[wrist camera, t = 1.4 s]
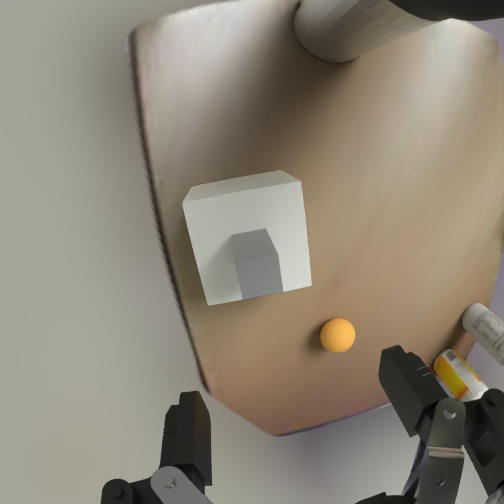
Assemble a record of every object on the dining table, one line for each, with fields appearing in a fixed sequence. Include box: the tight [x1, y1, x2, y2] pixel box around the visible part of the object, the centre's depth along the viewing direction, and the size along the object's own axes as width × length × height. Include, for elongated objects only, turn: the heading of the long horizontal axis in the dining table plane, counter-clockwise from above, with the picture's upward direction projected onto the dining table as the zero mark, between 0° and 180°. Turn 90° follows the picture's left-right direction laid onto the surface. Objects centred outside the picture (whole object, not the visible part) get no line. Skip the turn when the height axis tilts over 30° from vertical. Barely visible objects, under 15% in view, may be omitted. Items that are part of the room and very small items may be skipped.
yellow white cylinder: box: [434, 349, 489, 402], centre depth 42 cm, size 6×6×15 cm
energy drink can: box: [462, 303, 504, 365], centre depth 39 cm, size 6×6×15 cm
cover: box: [182, 170, 312, 306], centre depth 28 cm, size 10×10×15 cm
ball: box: [320, 318, 355, 353], centre depth 39 cm, size 5×5×5 cm
